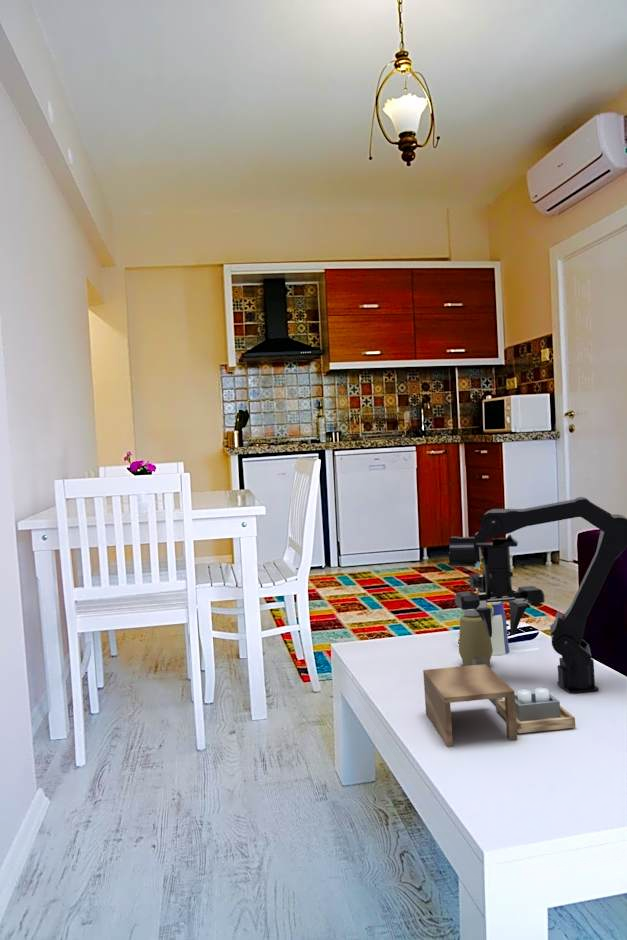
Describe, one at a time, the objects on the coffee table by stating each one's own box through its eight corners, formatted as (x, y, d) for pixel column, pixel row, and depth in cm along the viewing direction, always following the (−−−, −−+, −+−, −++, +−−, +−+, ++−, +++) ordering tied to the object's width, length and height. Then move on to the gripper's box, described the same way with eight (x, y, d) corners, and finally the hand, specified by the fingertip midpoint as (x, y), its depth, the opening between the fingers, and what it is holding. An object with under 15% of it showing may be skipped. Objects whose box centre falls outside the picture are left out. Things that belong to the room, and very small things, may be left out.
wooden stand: (488, 707, 141) (485, 664, 141) (517, 739, 125) (514, 691, 125) (425, 713, 140) (423, 670, 140) (447, 747, 124) (444, 697, 124)
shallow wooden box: (520, 679, 155) (518, 653, 155) (575, 727, 128) (573, 695, 128) (472, 684, 154) (470, 657, 154) (518, 733, 127) (516, 701, 127)
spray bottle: (505, 657, 172) (500, 558, 171) (473, 654, 177) (467, 557, 176) (515, 648, 179) (510, 553, 178) (483, 645, 184) (478, 552, 183)
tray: (548, 706, 137) (546, 684, 136) (560, 717, 131) (559, 693, 131) (509, 710, 136) (507, 687, 136) (519, 721, 130) (518, 697, 130)
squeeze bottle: (487, 673, 162) (483, 597, 161) (454, 669, 166) (450, 595, 165) (498, 662, 169) (493, 590, 168) (466, 659, 173) (461, 588, 172)
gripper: (523, 557, 161) (527, 623, 162) (446, 564, 160) (450, 630, 160) (543, 565, 150) (547, 635, 151) (460, 572, 149) (464, 643, 149)
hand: (501, 635), depth 153 cm, fingers open, 5 cm apart
